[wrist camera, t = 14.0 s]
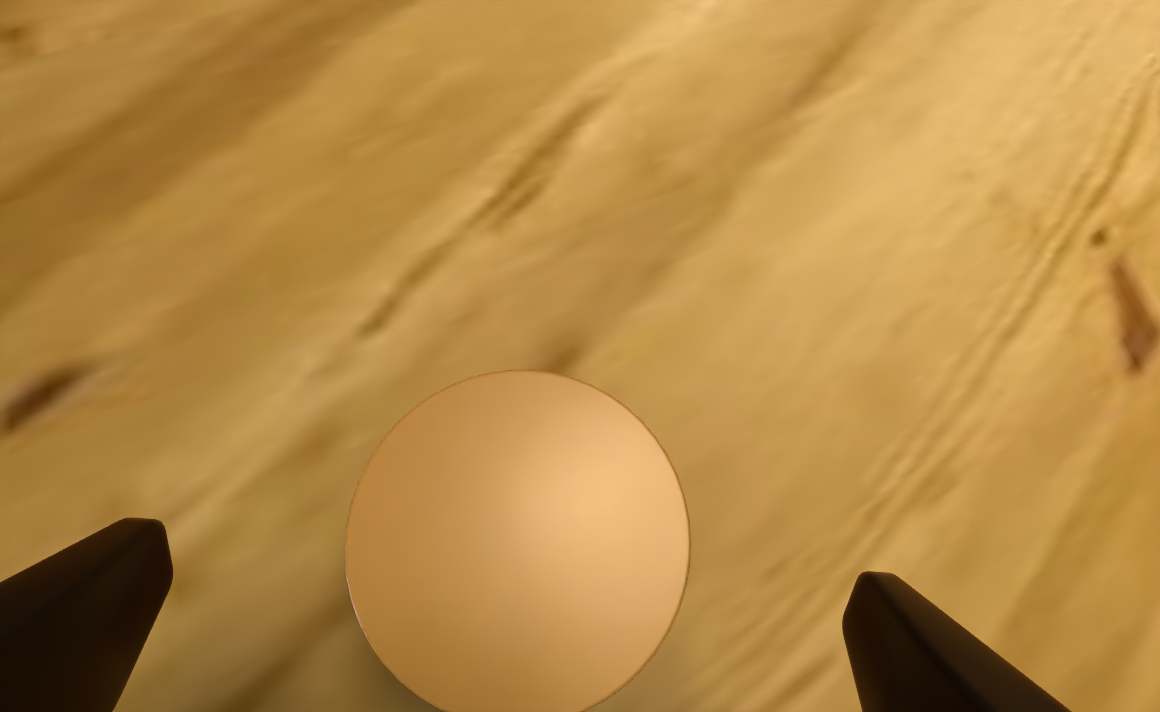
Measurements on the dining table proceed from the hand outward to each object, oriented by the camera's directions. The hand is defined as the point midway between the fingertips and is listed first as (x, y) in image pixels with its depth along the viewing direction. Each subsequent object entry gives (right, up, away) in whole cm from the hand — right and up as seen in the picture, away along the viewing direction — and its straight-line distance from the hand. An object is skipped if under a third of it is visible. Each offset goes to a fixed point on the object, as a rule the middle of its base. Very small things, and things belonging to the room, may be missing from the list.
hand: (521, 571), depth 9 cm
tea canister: (-1, -3, +11) cm, 11 cm away
